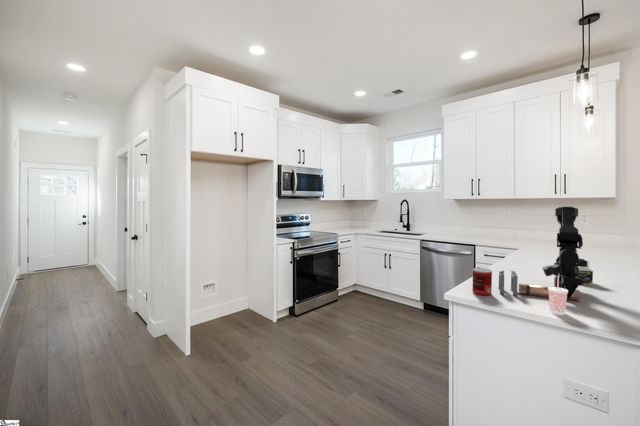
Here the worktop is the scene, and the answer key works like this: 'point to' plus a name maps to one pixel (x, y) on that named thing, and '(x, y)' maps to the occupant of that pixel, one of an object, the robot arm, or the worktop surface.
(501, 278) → the collar
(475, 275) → the canned food
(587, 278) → the medicine bottle
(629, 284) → the worktop surface
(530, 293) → the brown wooden rod
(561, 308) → the beverage cup
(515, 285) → the collar
